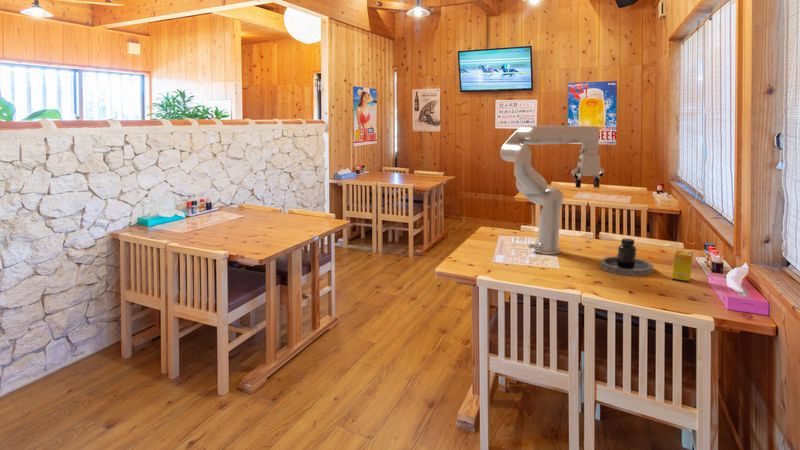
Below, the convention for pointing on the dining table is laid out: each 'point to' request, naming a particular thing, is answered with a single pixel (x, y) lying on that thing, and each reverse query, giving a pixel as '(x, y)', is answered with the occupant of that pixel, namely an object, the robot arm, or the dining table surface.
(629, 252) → the supplement bottle
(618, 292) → the dining table surface
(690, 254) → the supplement box
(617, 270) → the round tray
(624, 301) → the dining table surface
